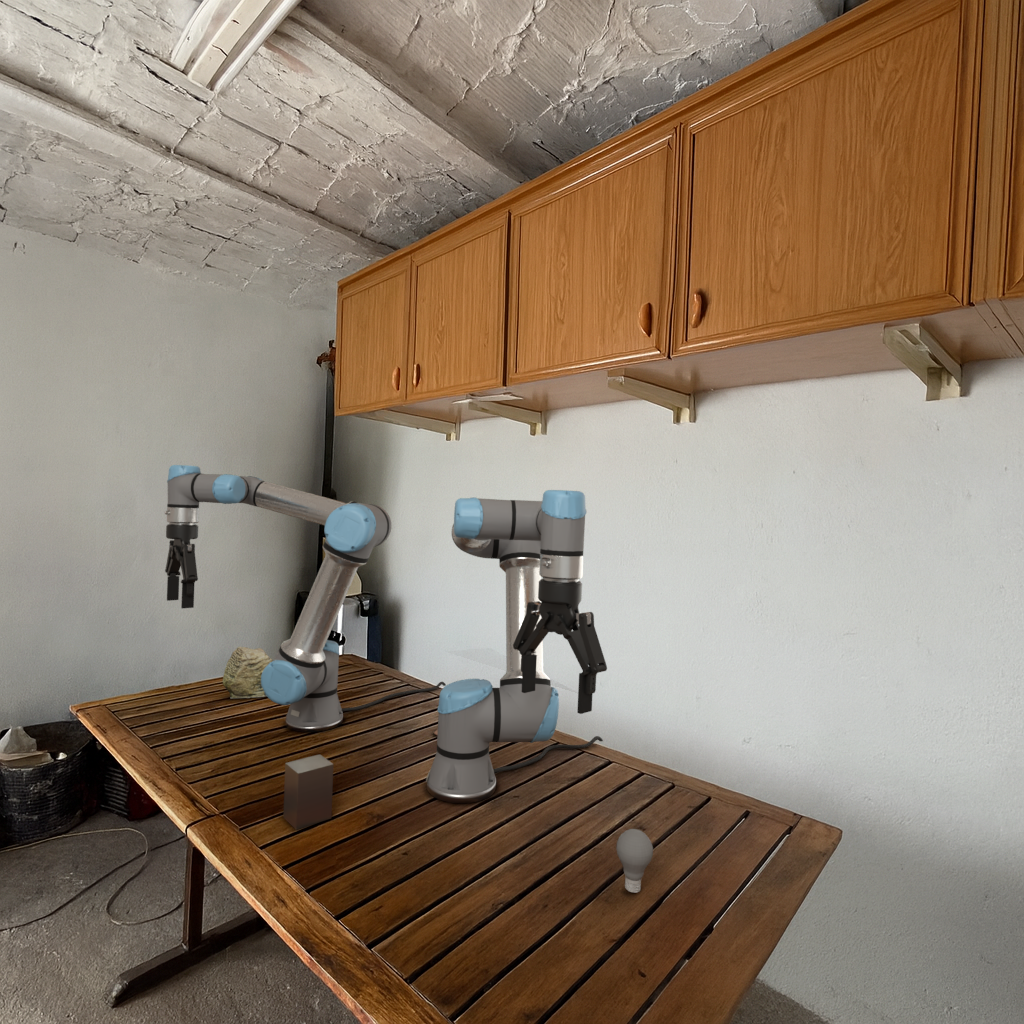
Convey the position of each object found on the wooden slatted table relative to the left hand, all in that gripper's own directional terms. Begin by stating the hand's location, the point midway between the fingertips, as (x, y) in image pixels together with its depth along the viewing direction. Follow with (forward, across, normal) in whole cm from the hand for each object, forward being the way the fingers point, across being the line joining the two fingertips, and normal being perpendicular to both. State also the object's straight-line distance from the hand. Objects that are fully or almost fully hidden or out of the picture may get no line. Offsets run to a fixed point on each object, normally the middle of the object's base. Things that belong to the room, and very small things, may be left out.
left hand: (179, 604), depth 167 cm
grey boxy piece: (+33, +65, +7) cm, 73 cm away
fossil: (+33, -16, +27) cm, 46 cm away
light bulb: (+33, +120, +38) cm, 130 cm away
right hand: (+3, +107, +32) cm, 112 cm away
